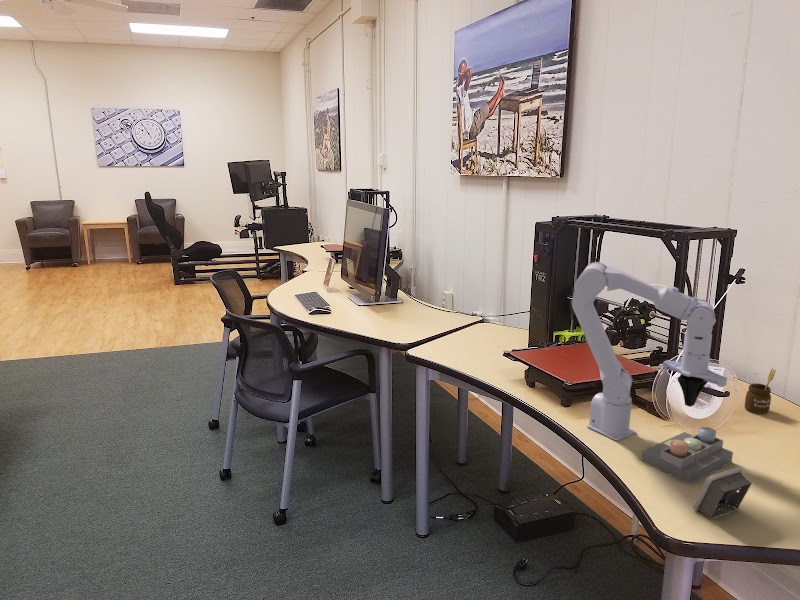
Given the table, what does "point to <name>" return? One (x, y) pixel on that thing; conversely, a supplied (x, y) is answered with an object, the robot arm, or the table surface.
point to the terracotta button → (678, 448)
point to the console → (688, 459)
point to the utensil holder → (759, 396)
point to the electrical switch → (722, 493)
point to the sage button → (693, 444)
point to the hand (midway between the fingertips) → (689, 404)
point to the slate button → (706, 435)
